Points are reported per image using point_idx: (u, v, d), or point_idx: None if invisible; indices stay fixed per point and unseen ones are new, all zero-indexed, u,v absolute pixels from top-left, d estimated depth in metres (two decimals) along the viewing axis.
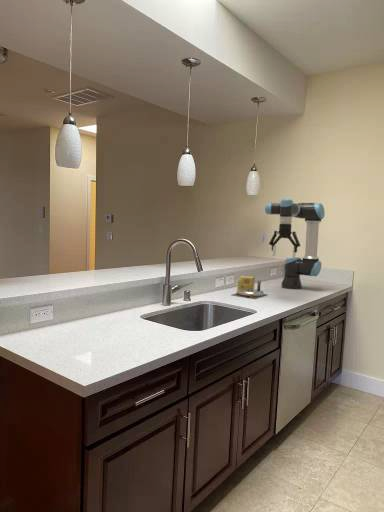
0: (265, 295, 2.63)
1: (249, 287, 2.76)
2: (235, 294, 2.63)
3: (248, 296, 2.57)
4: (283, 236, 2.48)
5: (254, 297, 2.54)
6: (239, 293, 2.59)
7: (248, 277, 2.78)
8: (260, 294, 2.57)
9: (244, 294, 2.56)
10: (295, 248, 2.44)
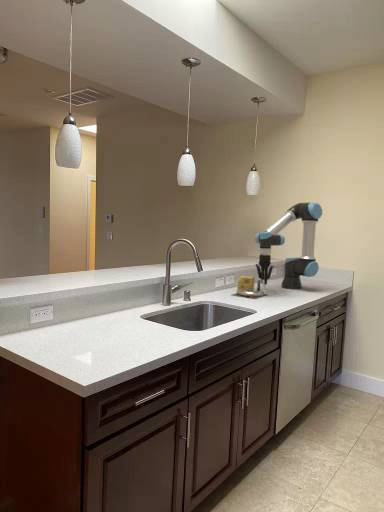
0: (265, 295, 2.63)
1: (249, 287, 2.76)
2: (235, 294, 2.63)
3: (248, 296, 2.57)
4: (263, 266, 2.63)
5: (254, 297, 2.54)
6: (239, 293, 2.59)
7: (248, 277, 2.78)
8: (260, 294, 2.57)
9: (244, 294, 2.56)
10: (265, 280, 2.63)
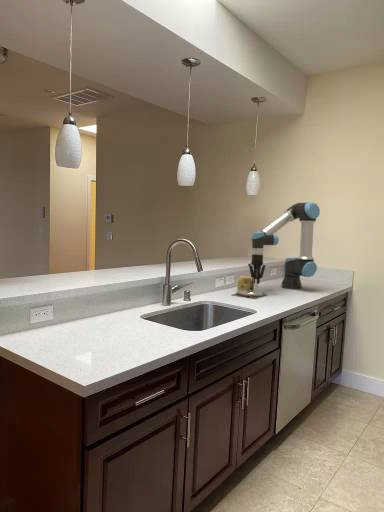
0: (265, 295, 2.63)
1: (249, 287, 2.76)
2: (235, 294, 2.63)
3: (248, 296, 2.57)
4: (255, 266, 2.66)
5: (254, 297, 2.54)
6: (249, 295, 2.55)
7: (248, 277, 2.78)
8: None
9: (256, 295, 2.55)
10: (257, 280, 2.66)
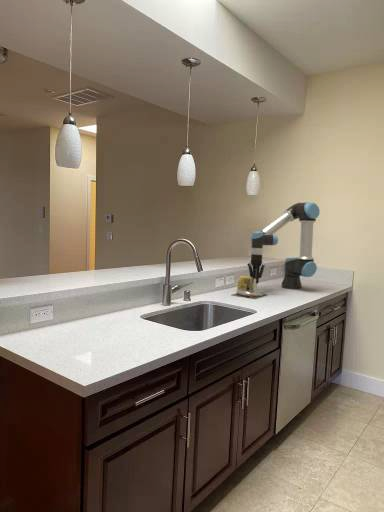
0: (265, 295, 2.63)
1: (249, 287, 2.76)
2: (235, 294, 2.63)
3: (248, 296, 2.57)
4: (254, 266, 2.67)
5: (254, 297, 2.54)
6: (254, 295, 2.55)
7: (248, 277, 2.78)
8: None
9: (259, 294, 2.57)
10: (256, 279, 2.67)
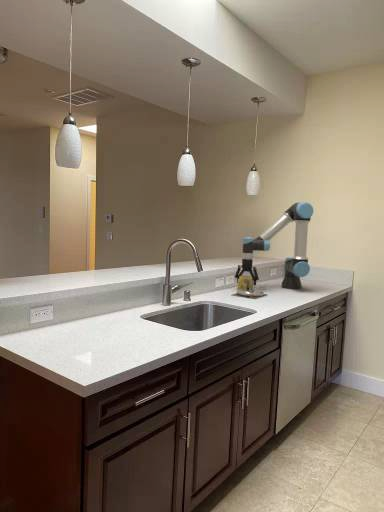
0: (265, 295, 2.63)
1: (249, 287, 2.76)
2: (235, 294, 2.63)
3: (248, 296, 2.57)
4: (245, 270, 2.80)
5: (254, 297, 2.54)
6: (254, 295, 2.55)
7: (248, 277, 2.78)
8: None
9: (259, 294, 2.57)
10: (254, 281, 2.77)
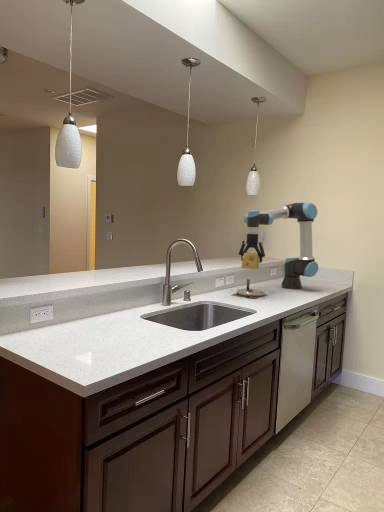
0: (265, 295, 2.63)
1: (254, 264, 2.52)
2: (235, 294, 2.63)
3: (248, 296, 2.57)
4: (250, 246, 2.56)
5: (254, 297, 2.54)
6: (254, 295, 2.55)
7: (253, 253, 2.54)
8: None
9: (259, 294, 2.57)
10: (260, 258, 2.53)
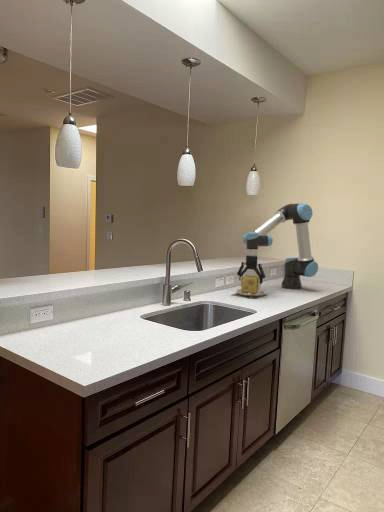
0: (265, 295, 2.63)
1: (254, 288, 2.53)
2: (235, 294, 2.63)
3: (248, 296, 2.57)
4: (249, 267, 2.58)
5: (254, 297, 2.54)
6: (254, 295, 2.55)
7: (253, 277, 2.55)
8: None
9: (259, 294, 2.57)
10: (260, 279, 2.54)
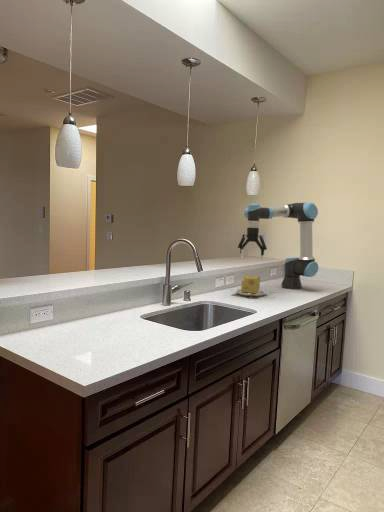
0: (265, 295, 2.63)
1: (254, 288, 2.53)
2: (235, 294, 2.63)
3: (248, 296, 2.57)
4: (251, 239, 2.56)
5: (254, 297, 2.54)
6: (254, 295, 2.55)
7: (253, 277, 2.55)
8: None
9: (259, 294, 2.57)
10: (262, 251, 2.52)
